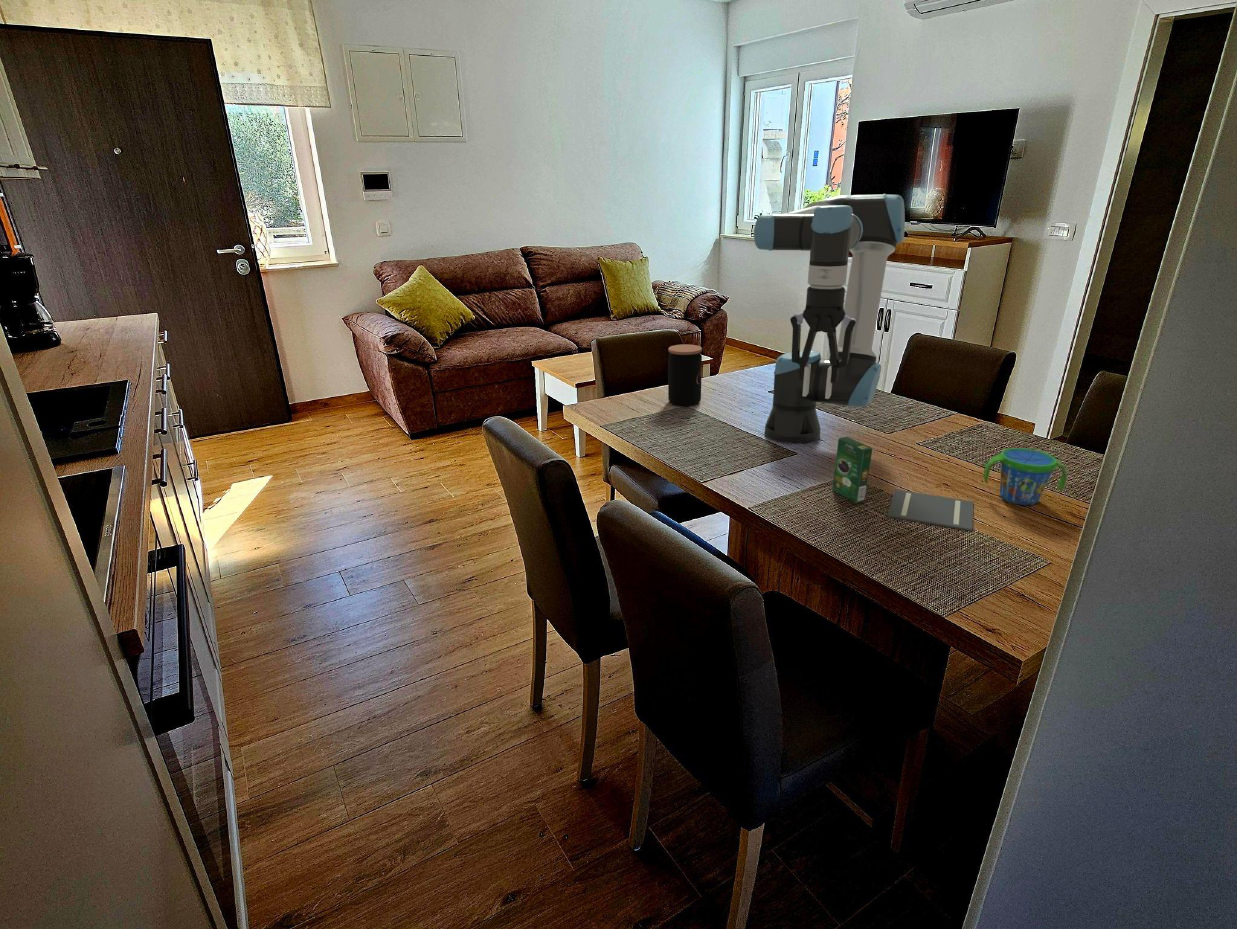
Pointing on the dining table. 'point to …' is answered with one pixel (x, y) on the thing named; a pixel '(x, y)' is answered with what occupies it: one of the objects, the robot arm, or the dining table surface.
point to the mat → (932, 509)
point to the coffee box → (852, 469)
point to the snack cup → (1024, 474)
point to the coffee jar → (684, 375)
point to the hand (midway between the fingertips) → (816, 395)
